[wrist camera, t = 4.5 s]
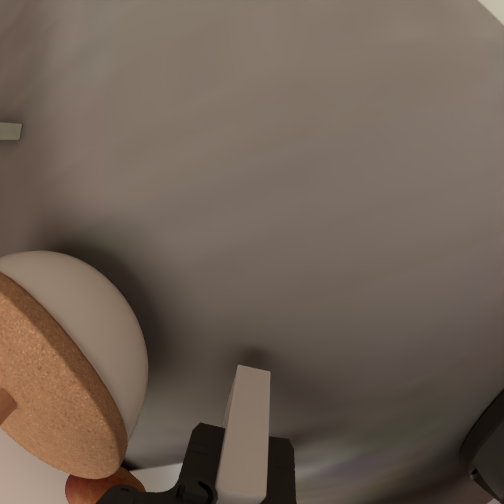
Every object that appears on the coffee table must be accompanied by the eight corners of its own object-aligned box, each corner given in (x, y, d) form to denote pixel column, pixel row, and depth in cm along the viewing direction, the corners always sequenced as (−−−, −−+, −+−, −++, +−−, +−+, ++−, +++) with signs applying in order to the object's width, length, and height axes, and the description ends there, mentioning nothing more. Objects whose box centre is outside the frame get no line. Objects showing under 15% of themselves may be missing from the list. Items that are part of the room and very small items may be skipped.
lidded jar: (51, 369, 17) (-20, 447, 8) (18, 225, 14) (-100, 272, 5) (184, 402, 16) (137, 530, 7) (170, 229, 14) (28, 324, 5)
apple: (136, 496, 22) (115, 550, 14) (74, 456, 21) (43, 508, 13) (175, 485, 20) (154, 554, 12) (100, 437, 19) (62, 505, 11)
